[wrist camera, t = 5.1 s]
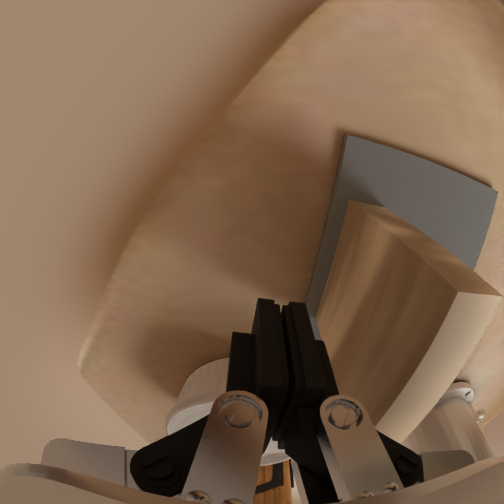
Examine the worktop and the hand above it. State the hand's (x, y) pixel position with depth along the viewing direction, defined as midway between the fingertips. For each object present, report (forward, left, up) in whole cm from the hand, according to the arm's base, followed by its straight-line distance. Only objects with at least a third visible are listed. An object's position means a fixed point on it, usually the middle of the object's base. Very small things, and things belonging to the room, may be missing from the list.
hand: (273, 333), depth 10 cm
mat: (-10, 0, -8) cm, 12 cm away
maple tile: (-5, 0, -7) cm, 9 cm away
